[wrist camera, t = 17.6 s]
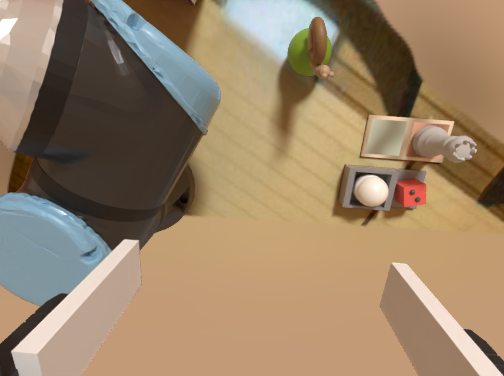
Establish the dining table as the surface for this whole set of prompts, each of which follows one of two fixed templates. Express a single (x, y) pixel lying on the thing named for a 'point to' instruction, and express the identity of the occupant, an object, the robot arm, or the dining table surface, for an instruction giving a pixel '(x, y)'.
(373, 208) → the grey compartment tray
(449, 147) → the rook chess piece
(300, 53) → the snail figurine
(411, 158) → the wooden double picture frame
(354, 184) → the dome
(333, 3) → the dining table surface
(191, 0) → the candy bar box
